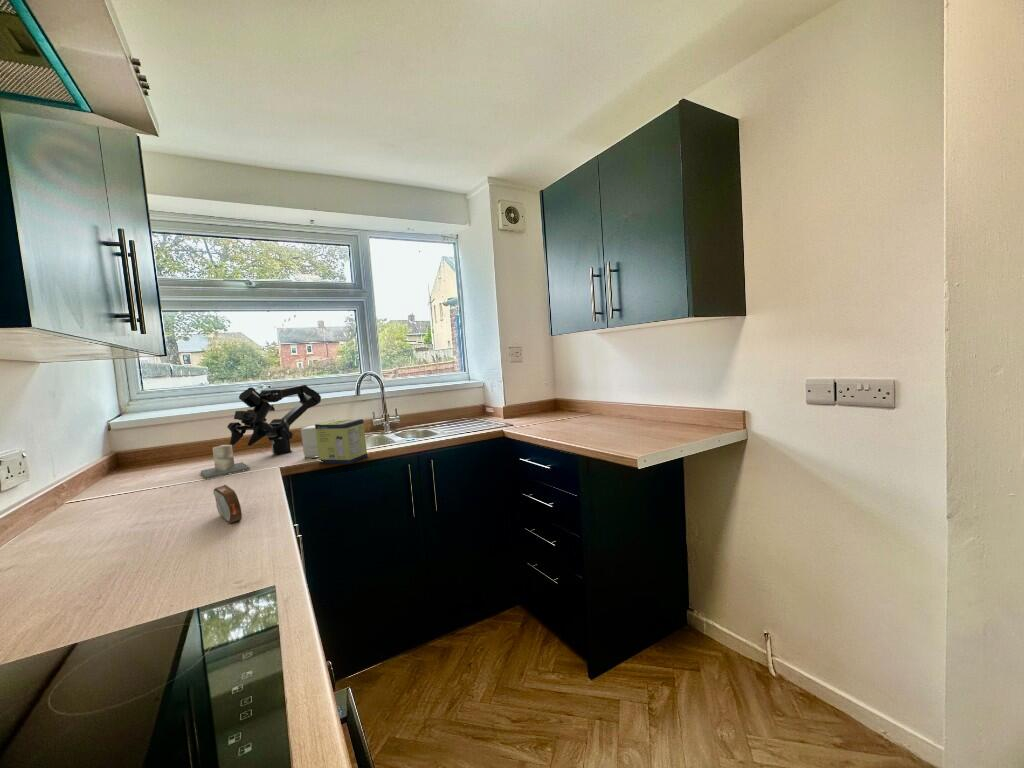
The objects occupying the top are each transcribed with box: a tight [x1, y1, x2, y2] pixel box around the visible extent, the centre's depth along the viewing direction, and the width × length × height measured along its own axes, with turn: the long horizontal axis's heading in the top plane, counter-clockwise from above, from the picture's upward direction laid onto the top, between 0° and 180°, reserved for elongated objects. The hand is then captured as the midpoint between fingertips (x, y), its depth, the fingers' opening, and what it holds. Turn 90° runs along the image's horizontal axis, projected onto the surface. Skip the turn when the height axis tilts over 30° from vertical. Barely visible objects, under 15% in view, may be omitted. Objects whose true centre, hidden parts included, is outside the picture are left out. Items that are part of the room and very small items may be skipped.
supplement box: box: [300, 424, 319, 458], centre depth 182 cm, size 7×7×13 cm
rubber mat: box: [200, 461, 251, 479], centre depth 167 cm, size 14×14×1 cm
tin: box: [213, 484, 243, 524], centre depth 113 cm, size 15×3×8 cm, turn 46°
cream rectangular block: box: [212, 444, 235, 471], centre depth 166 cm, size 4×4×9 cm
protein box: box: [314, 418, 368, 465], centre depth 170 cm, size 10×16×16 cm
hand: (239, 445), depth 173 cm, fingers open, 9 cm apart
